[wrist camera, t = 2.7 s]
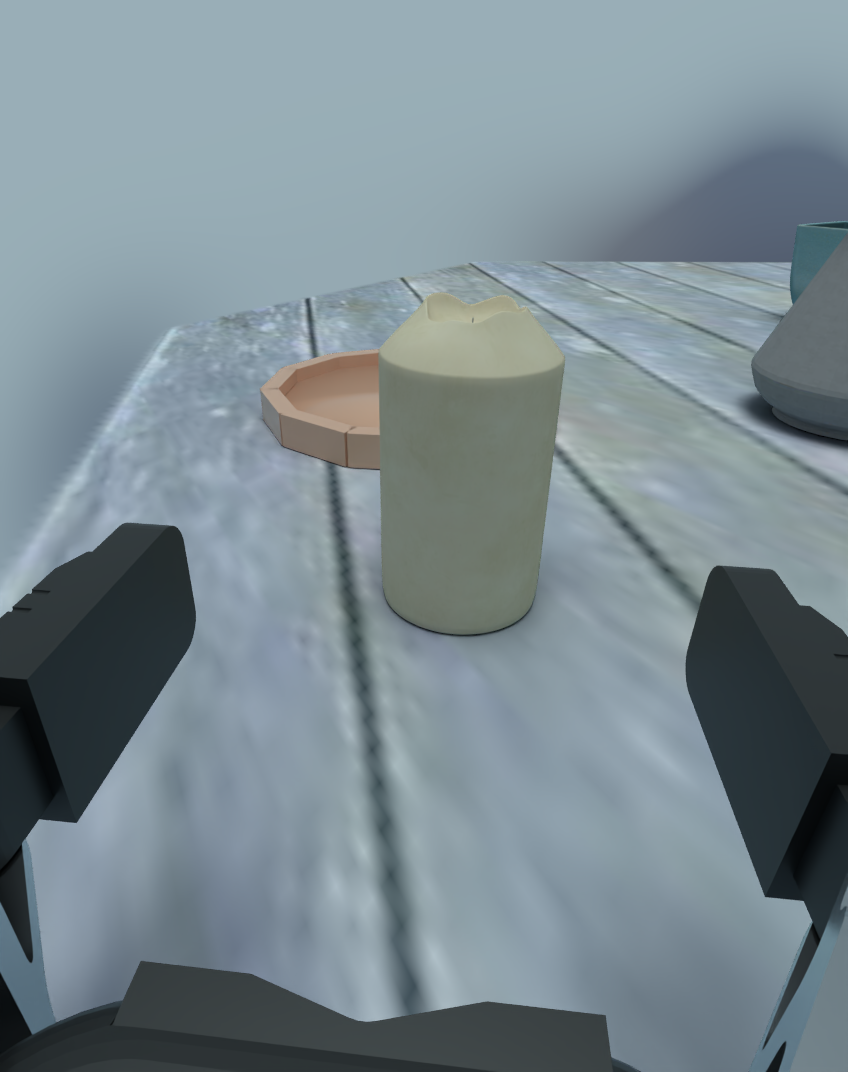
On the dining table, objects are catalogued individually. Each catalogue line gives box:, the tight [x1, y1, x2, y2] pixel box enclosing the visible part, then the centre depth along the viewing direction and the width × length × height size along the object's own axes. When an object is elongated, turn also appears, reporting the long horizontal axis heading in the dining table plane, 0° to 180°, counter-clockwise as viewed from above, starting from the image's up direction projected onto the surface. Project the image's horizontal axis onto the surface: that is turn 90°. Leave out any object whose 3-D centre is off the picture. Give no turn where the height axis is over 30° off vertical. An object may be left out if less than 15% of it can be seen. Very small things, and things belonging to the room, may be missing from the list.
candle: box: [378, 293, 565, 635], centre depth 21 cm, size 6×6×10 cm
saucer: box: [260, 349, 380, 469], centre depth 40 cm, size 17×17×2 cm
